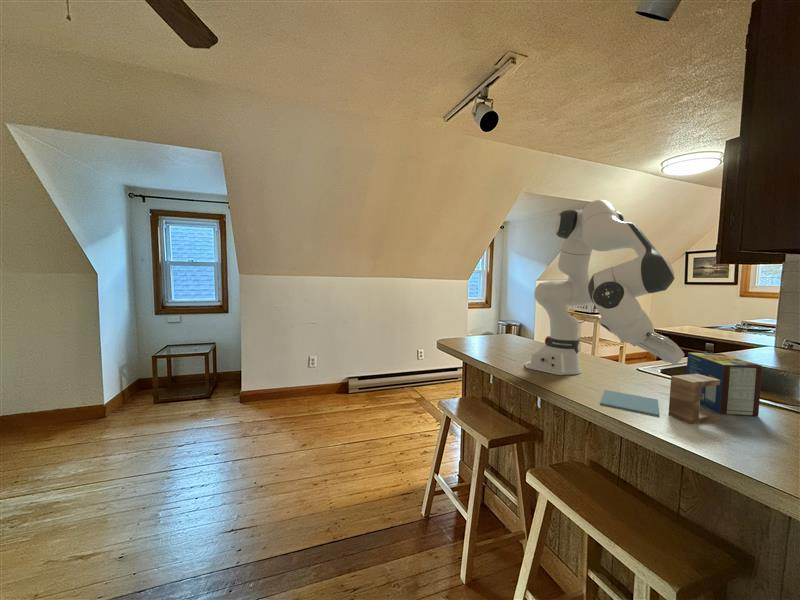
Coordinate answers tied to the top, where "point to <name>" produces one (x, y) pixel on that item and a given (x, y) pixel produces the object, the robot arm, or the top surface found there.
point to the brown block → (689, 398)
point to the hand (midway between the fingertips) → (650, 351)
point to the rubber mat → (630, 402)
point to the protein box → (728, 383)
